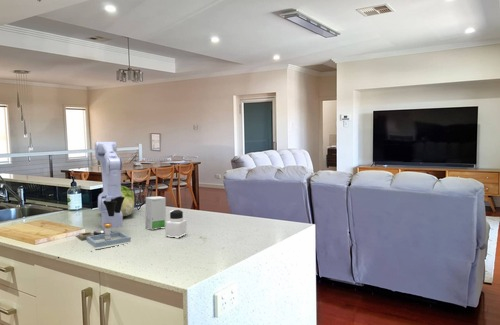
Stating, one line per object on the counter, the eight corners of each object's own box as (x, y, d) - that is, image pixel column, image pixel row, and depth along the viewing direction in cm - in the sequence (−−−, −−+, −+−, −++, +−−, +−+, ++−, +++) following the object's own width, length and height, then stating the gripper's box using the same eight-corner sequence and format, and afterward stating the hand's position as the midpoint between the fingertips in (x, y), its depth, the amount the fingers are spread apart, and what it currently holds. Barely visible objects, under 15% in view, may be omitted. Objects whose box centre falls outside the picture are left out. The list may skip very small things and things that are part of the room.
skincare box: (150, 230, 188) (150, 199, 187) (144, 228, 193) (144, 197, 191) (166, 228, 193) (166, 197, 192) (159, 225, 198) (159, 195, 197)
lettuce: (111, 207, 201) (138, 185, 211) (87, 194, 214) (113, 174, 224) (125, 230, 212) (150, 208, 222) (102, 217, 225) (126, 196, 235)
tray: (120, 238, 174) (120, 231, 174) (130, 244, 165) (130, 237, 165) (86, 243, 165) (86, 236, 165) (95, 250, 156) (95, 243, 156)
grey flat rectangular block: (106, 233, 182) (106, 226, 181) (114, 238, 174) (114, 231, 174) (74, 238, 172) (74, 231, 172) (81, 243, 165) (81, 236, 165)
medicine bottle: (186, 235, 181) (186, 209, 180) (179, 238, 175) (179, 212, 174) (173, 233, 184) (173, 208, 183) (165, 237, 177) (165, 211, 176)
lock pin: (107, 240, 167) (107, 222, 167) (113, 241, 166) (113, 223, 166) (101, 243, 164) (101, 224, 164) (108, 243, 163) (108, 225, 162)
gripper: (111, 182, 181) (111, 211, 182) (98, 186, 167) (99, 217, 168) (126, 182, 181) (126, 211, 182) (114, 187, 167) (115, 218, 168)
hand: (114, 214), depth 175 cm, fingers open, 7 cm apart
